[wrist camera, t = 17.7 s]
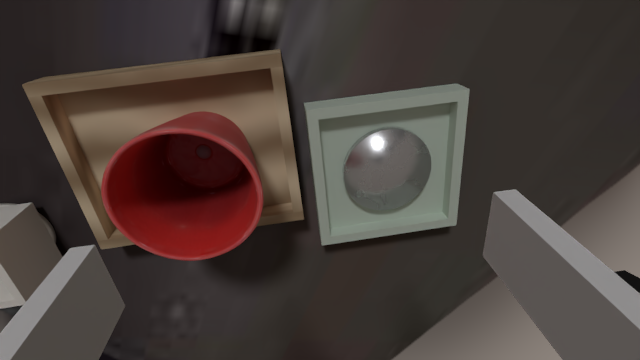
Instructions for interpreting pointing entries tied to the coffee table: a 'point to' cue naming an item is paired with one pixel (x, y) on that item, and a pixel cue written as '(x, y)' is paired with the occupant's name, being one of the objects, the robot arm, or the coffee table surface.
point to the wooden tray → (160, 107)
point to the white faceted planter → (24, 252)
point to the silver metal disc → (386, 168)
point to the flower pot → (185, 188)
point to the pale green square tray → (377, 112)
